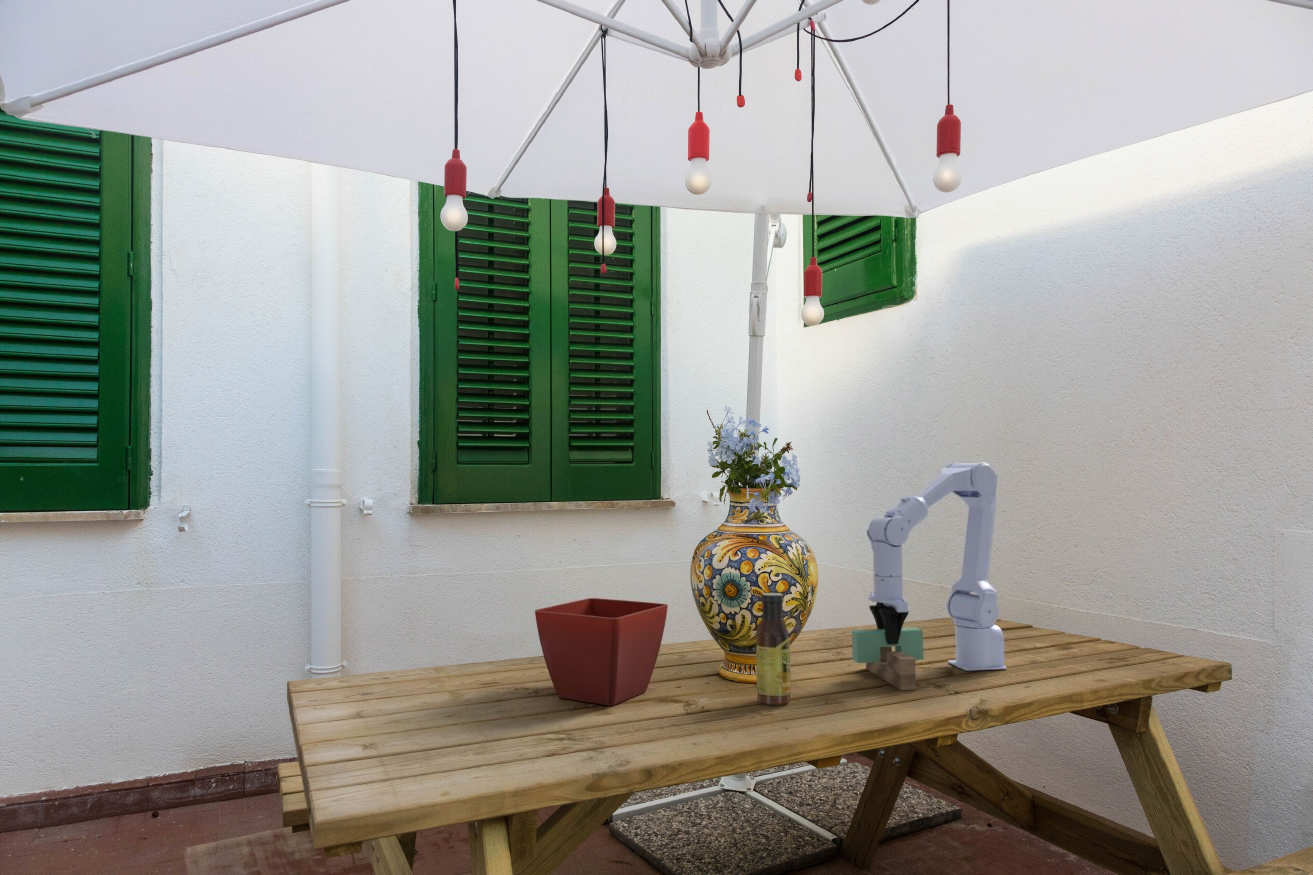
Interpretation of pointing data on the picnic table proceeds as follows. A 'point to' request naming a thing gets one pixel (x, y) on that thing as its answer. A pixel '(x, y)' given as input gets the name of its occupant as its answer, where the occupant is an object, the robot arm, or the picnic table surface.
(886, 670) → the walnut notched bar
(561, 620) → the plant pot
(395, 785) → the picnic table surface
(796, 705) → the picnic table surface
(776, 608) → the sauce bottle
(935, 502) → the robot arm
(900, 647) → the green notched bar
